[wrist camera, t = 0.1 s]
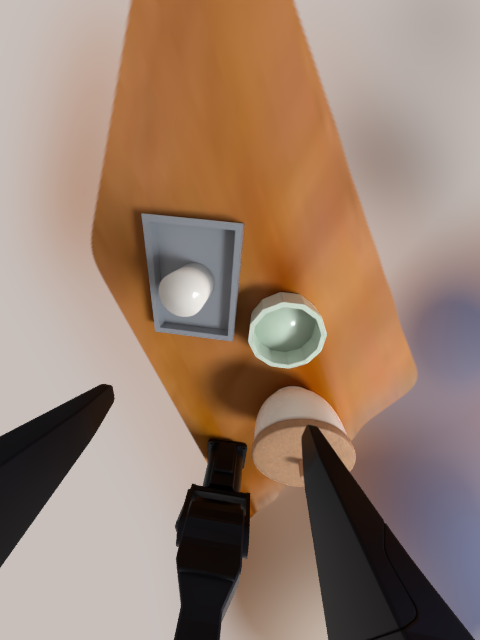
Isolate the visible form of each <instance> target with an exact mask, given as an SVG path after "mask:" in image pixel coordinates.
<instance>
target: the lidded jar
mask: <svg viewBox="0 0 480 640" xmlns="http://www.w3.org/2000/svg"><path fill="white" fill-rule="evenodd" d="M308 424H310V425H315V426H317V427H318V428H319V429H320V431H321V432H322V434H323V435H324V436H325V438H326V439H327V441H328V442H329V443H330V445H331V446H332V448H333V449H334V451H335V452H336V453H337V455H338V456H339V458H340V459H341V460H342V462H343V463H344V465H345V466H346V468H347V469H348V470H349V472H350V471H351V469H352V468H353V466H354V463H355V459H356V455H355V450H354V448H353V445H352V443H351V441H350V439H349V438H348V436H347V434H346V431H345V429H344V427H343V425H342V423H341V421H340V419H339V417H338V415H337V414H336V412H335V411H334V410H333V408H332V407H331V406H330V405H329V404H328V403H327V402H326V401H325V400H324V399H323V398H322V397H320V396H319V395H317V394H316V393H314V392H312V391H309V390H307V389H305V388H302V387H298V386H288V387H284V388H281V389H279V390H277V391H276V392H275V393H274V394H272V395H271V396H270V397H268V398H267V400H266V401H265V402H264V403H263V405H262V406H261V408H260V410H259V412H258V416H257V419H256V424H255V430H254V442H253V448H252V458H253V461H254V463H255V465H256V467H257V468H258V470H259V471H260V472H261V473H263V474H264V475H265V476H267V477H268V478H270V479H272V480H274V481H276V482H279V483H282V484H286V485H290V486H298V487H305V485H304V477H303V461H302V443H301V438H302V434H303V432H304V430H305V428H306V426H307V425H308Z"/></svg>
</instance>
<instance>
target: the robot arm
mask: <svg viewBox="0 0 480 640" xmlns="http://www.w3.org/2000/svg"><path fill="white" fill-rule="evenodd" d="M113 402H114V392H113V387H112V386H111V385H107V384H101V385H99V386H97V387H95V388H93V389H91V390H89V391H87V392H85V393H83V394H81V395H79V396H78V397H75V398H74V399H72V400H70V401H68V402H66V403H64V404H62V405H60V406H58V407H56V408H54V409H52V410H50V411H49V412H47V413H45V414H43V415H41V416H39V417H37V418H35V419H33V420H31V421H29V422H27V423H25V424H23V425H21V426H19V427H18V428H15V429H14V430H12V431H10V432H8V433H6V434H4V435H2V436H0V567H1V566H2V564H3V563H4V561H5V560H6V559H7V557H8V556H9V555H10V553H11V552H12V550H13V549H14V548H15V546H16V545H17V543H18V542H19V540H20V539H21V538H22V536H23V535H24V534H25V532H26V531H27V529H28V528H29V526H30V525H31V524H32V522H33V521H34V519H35V518H36V517H37V515H38V514H39V512H40V511H41V509H42V508H43V507H44V505H45V504H46V503H47V501H48V500H49V498H50V497H51V496H52V494H53V493H54V491H55V490H56V489H57V487H58V486H59V484H60V483H61V482H62V480H63V479H64V477H65V476H66V475H67V473H68V472H69V470H70V469H71V467H72V466H73V465H74V463H75V462H76V460H77V459H78V458H79V456H80V455H81V453H82V452H83V450H84V449H85V448H86V446H87V445H88V444H89V442H90V441H91V439H92V438H93V436H94V435H95V433H96V431H97V430H98V428H99V426H100V425H101V423H102V421H103V419H104V418H105V416H106V414H107V413H108V411H109V409H110V407H111V406H112V404H113ZM301 443H302V461H303V477H304V485H305V492H306V498H307V504H308V510H309V518H310V523H311V530H312V537H313V542H314V549H315V556H316V562H317V568H318V576H319V582H320V587H321V595H322V601H323V608H324V614H325V621H326V627H327V634H328V640H475V639H474V638H473V637H472V635H471V634H470V633H469V632H468V630H467V629H466V628H465V627H464V625H463V624H462V623H461V621H460V620H459V619H458V618H457V616H456V615H455V614H454V613H453V611H452V610H451V609H450V608H449V606H448V605H447V604H446V603H445V601H444V600H443V599H442V598H441V596H440V595H439V594H438V593H437V591H436V590H435V588H434V587H433V586H432V585H431V583H430V582H429V581H428V580H427V578H426V577H425V576H424V574H423V573H422V572H421V571H420V569H419V568H418V567H417V566H416V564H415V563H414V561H413V560H412V559H411V557H410V556H409V555H408V554H407V552H406V551H405V549H404V548H403V546H402V545H401V544H400V542H399V541H398V540H397V538H396V537H395V535H394V534H393V533H392V531H391V530H390V528H389V527H388V525H387V524H386V523H384V520H383V519H382V517H381V516H380V514H379V513H378V511H377V510H376V509H375V507H374V506H373V504H372V503H371V502H370V500H369V499H368V497H367V496H366V494H365V493H364V492H363V490H362V489H361V487H360V486H359V485H358V483H357V482H356V480H355V479H354V478H353V476H352V475H351V473H350V472H349V470H348V469H347V468H346V466H345V465H344V463H343V462H342V460H341V459H340V458H339V456H338V455H337V453H336V452H335V451H334V449H333V448H332V446H331V445H330V443H329V442H328V441H327V439H326V438H325V436H324V435H323V434H322V432H321V431H320V429H319V428H318V427H317V426H315V425H310V424H308V425H307V426H306V428H305V430H304V432H303V434H302V438H301ZM246 451H247V445H245V444H240V443H233V442H227V441H220V440H214V439H210V440H209V441H208V465H207V469H206V474H205V478H204V483H203V486H198V485H196V484H192V486H191V489H188V492H187V495H186V499H185V502H184V505H183V507H182V510H181V512H180V514H179V517H178V520H177V522H176V525H175V528H176V531H177V540H176V546H177V547H179V548H178V552H177V557H176V562H177V573H178V582H179V591H180V600H181V609H180V613H179V618H178V623H177V628H176V632H175V637H174V640H220V630H221V622H222V620H223V618H224V616H225V613H226V611H227V609H228V607H229V605H230V602H231V600H232V598H233V596H234V594H235V591H236V589H237V587H238V583H239V578H240V573H241V567H242V558H244V559H247V554H248V545H249V526H250V523H249V522H250V493H247V492H246V493H242V492H240V489H241V476H242V469H243V468H244V463H245V457H246Z"/></svg>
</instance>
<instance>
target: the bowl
mask: <svg viewBox="0 0 480 640" xmlns="http://www.w3.org/2000/svg"><path fill="white" fill-rule="evenodd" d="M326 336H327V333H326V329H325V326H324V323H323V320H322V317H321V315H320V314H319V312H318V311H317V309H316V307H315V306H314V305H313V304H312V303H311V302H309V301H308V300H307V299H305V298H304V297H303V296H301V295H300V294H294V293H285V292H279V293H276V294H274V295H271V296H269V297H266V298H264V299H262V300H261V302H260V303H259V304H258V305H257V306H256V308H255V309H254V310H253V311H252V313H251V321H250V329H249V338H248V343H249V345H250V347H251V349H252V350H253V352H254V354H255V356H256V357H257V358H259V359H260V360H262V361H263V362H265V363H266V364H268V365H269V366H273V367H281V368H288V369H289V368H293V367H296V366H300V365H303V364H307V363H308V362H310V361H311V360H312V359H313V358H314V357H315V356H316V355H318V354H319V353H320V352H321V351H322V348H323V345H324V342H325V339H326Z"/></svg>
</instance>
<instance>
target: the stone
mask: <svg viewBox="0 0 480 640" xmlns="http://www.w3.org/2000/svg"><path fill="white" fill-rule="evenodd" d="M214 288H215V279H214V276H213V274H212V272H211V271H210V270H209V269H208V268H207V267H206V266H205V265H203V264H200V263H189V264H186V265H184V266H183V267H181V268H179V269H177V270H176V271H174V272H172V273H170V274H169V275H167V276H165V277H164V278H163V279H162V281H161V282H160V285H159V297H160V300H161V302H162V304H163V305H164V307H165V308H166V309H167V310H168V311H170V312H171V313H173V314H175V315H177V316H181V317H189V316H193V315H195V314H196V313H198V312H199V311H200V310H201V308H202V307H203V305H204V304H205V302H206V301H207V300H208V298H209V297H210V295H211V294H212V292H213V291H214Z"/></svg>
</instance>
